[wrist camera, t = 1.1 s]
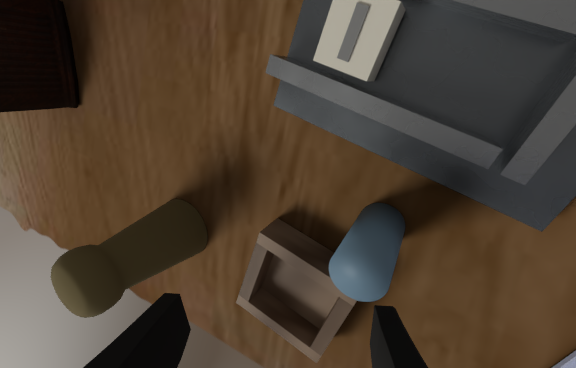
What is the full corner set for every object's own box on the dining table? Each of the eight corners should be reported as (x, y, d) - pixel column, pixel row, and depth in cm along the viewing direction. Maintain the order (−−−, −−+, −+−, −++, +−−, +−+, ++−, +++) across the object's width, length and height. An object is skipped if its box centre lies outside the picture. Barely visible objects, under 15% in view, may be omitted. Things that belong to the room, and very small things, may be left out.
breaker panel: (746, -9, 10) (855, -42, 7) (535, 221, 15) (554, 252, 12) (341, -92, 15) (318, -130, 12) (282, 104, 20) (256, 107, 17)
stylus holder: (368, 273, 21) (359, 296, 18) (328, 338, 24) (316, 363, 22) (277, 218, 23) (259, 232, 21) (253, 284, 27) (236, 302, 24)
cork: (168, 187, 28) (33, 239, 19) (213, 221, 27) (90, 295, 17) (159, 231, 31) (40, 294, 22) (200, 264, 29) (89, 347, 20)
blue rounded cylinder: (414, 217, 18) (401, 271, 13) (391, 252, 19) (372, 312, 14) (370, 194, 19) (342, 236, 14) (351, 229, 20) (320, 278, 15)
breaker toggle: (405, 9, 14) (400, 0, 12) (374, 81, 15) (366, 81, 14) (348, -8, 14) (337, -18, 13) (324, 62, 16) (312, 60, 14)
